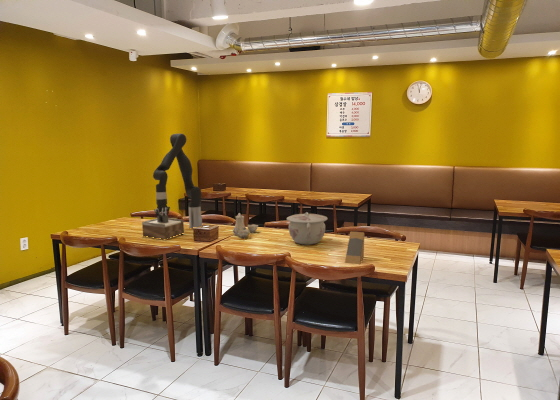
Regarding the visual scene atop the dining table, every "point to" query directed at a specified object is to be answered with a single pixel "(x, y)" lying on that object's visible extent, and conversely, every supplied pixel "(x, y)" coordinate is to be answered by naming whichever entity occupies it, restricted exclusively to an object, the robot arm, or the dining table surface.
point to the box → (162, 229)
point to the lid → (165, 221)
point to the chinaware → (243, 227)
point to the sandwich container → (355, 248)
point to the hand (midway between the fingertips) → (162, 221)
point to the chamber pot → (307, 228)
